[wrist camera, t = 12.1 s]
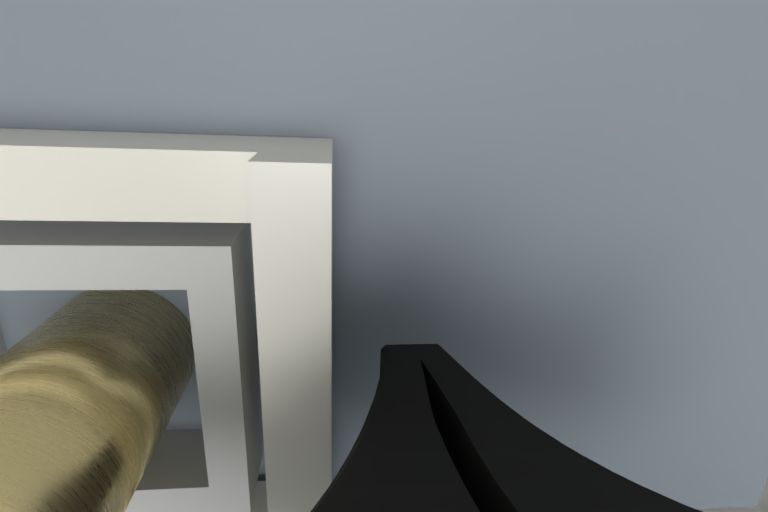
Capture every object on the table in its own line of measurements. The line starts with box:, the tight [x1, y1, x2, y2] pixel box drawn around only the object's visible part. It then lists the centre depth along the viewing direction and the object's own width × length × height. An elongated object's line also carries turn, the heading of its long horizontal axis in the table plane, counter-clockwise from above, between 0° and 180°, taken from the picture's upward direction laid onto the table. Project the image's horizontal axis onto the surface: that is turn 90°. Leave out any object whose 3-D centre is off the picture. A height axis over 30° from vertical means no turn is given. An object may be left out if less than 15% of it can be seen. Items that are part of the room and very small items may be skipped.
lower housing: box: [0, 128, 333, 512], centre depth 10 cm, size 11×10×4 cm
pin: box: [0, 290, 195, 512], centre depth 9 cm, size 3×3×6 cm
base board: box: [0, 0, 768, 512], centre depth 12 cm, size 16×24×4 cm, turn 88°
